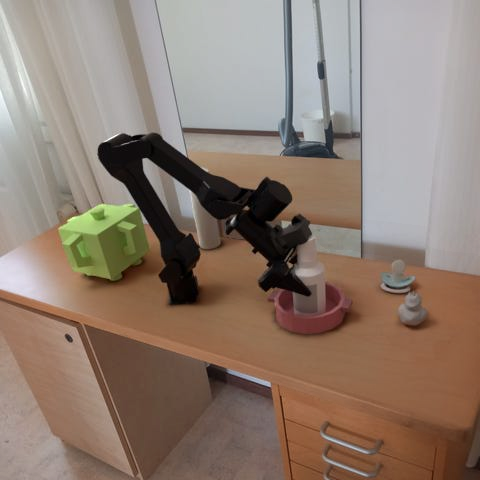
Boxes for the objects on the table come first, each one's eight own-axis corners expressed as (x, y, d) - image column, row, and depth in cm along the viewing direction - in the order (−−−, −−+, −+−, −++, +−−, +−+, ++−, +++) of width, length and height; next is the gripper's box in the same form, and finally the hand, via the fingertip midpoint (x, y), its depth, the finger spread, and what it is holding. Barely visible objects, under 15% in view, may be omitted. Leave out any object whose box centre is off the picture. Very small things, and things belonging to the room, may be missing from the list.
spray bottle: (291, 306, 109) (285, 232, 99) (322, 301, 109) (319, 227, 99) (297, 324, 103) (291, 247, 93) (329, 319, 103) (327, 242, 93)
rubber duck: (393, 327, 99) (395, 293, 94) (403, 309, 103) (405, 276, 99) (421, 332, 96) (425, 298, 92) (429, 314, 100) (433, 281, 96)
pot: (260, 327, 104) (258, 312, 102) (282, 291, 115) (281, 276, 113) (342, 339, 97) (342, 323, 95) (358, 300, 108) (358, 284, 106)
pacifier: (409, 297, 107) (416, 282, 111) (411, 273, 103) (418, 258, 107) (376, 292, 110) (383, 278, 114) (376, 268, 106) (384, 254, 110)
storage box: (115, 298, 122) (94, 235, 112) (52, 283, 132) (29, 225, 123) (173, 252, 139) (160, 194, 129) (114, 242, 149) (97, 187, 139)
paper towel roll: (213, 251, 136) (200, 176, 124) (195, 248, 139) (181, 174, 127) (227, 239, 141) (215, 166, 129) (209, 237, 144) (197, 164, 132)
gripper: (267, 230, 87) (329, 289, 89) (299, 190, 101) (352, 242, 103) (233, 265, 95) (291, 319, 97) (267, 223, 108) (317, 271, 110)
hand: (315, 286), depth 102 cm, fingers closed on spray bottle, 7 cm apart
